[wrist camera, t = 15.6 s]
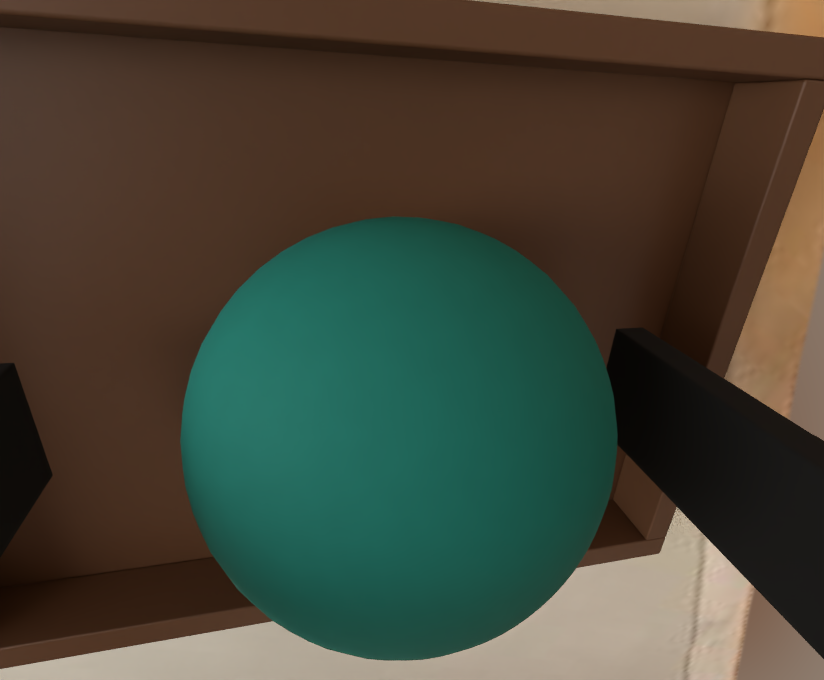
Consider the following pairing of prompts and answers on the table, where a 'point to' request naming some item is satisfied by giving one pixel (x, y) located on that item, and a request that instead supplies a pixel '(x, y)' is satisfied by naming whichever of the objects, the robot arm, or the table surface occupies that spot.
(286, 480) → the ball
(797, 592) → the robot arm
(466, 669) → the table surface
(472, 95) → the tray
